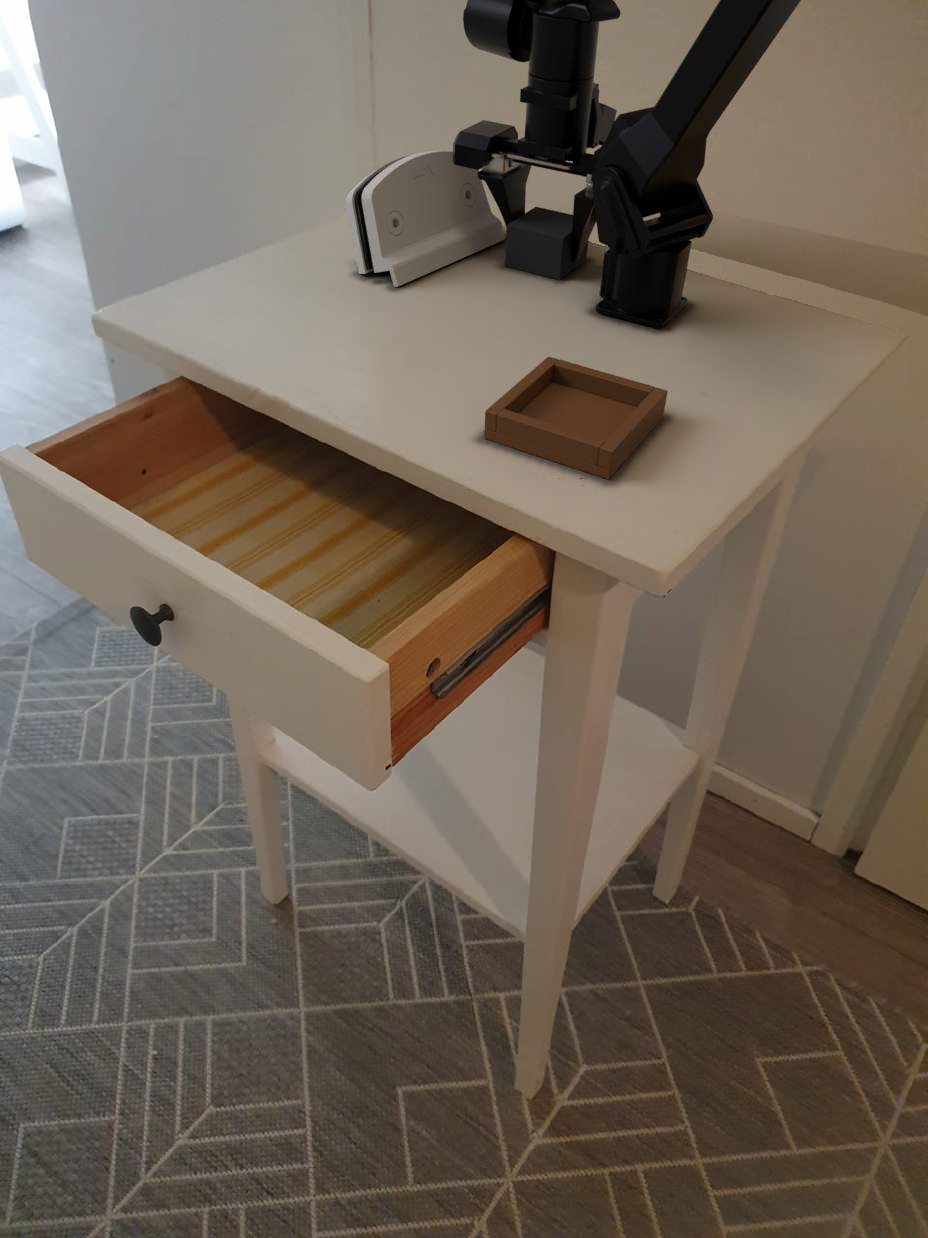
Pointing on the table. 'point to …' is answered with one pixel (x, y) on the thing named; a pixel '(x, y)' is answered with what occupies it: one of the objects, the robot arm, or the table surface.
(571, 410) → the shallow brown tray
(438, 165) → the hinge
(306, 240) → the table surface
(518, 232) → the black block
